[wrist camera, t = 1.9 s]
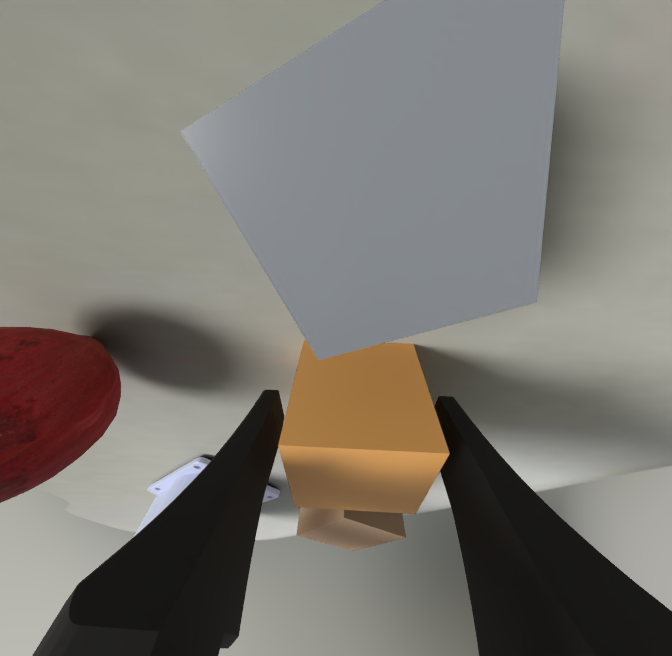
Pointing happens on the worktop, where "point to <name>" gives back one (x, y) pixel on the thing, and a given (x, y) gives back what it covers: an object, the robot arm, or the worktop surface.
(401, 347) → the orange block
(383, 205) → the slate block
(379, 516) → the walnut block
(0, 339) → the onion
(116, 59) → the worktop surface
